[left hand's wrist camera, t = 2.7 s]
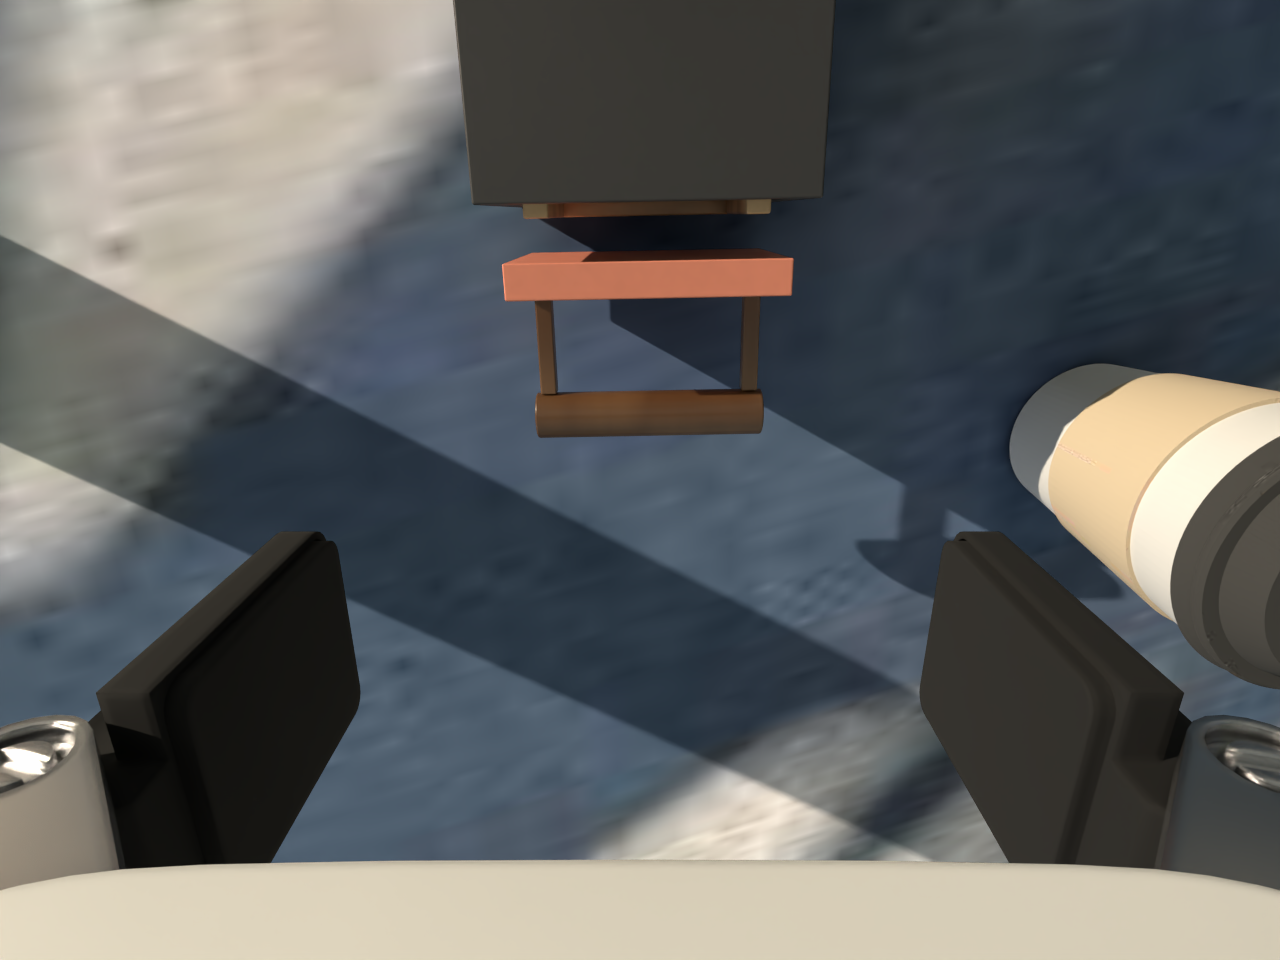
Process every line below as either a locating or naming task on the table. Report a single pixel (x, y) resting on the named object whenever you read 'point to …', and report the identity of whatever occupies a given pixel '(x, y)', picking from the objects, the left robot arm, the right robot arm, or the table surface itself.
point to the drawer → (644, 280)
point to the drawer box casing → (644, 99)
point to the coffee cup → (1169, 497)
